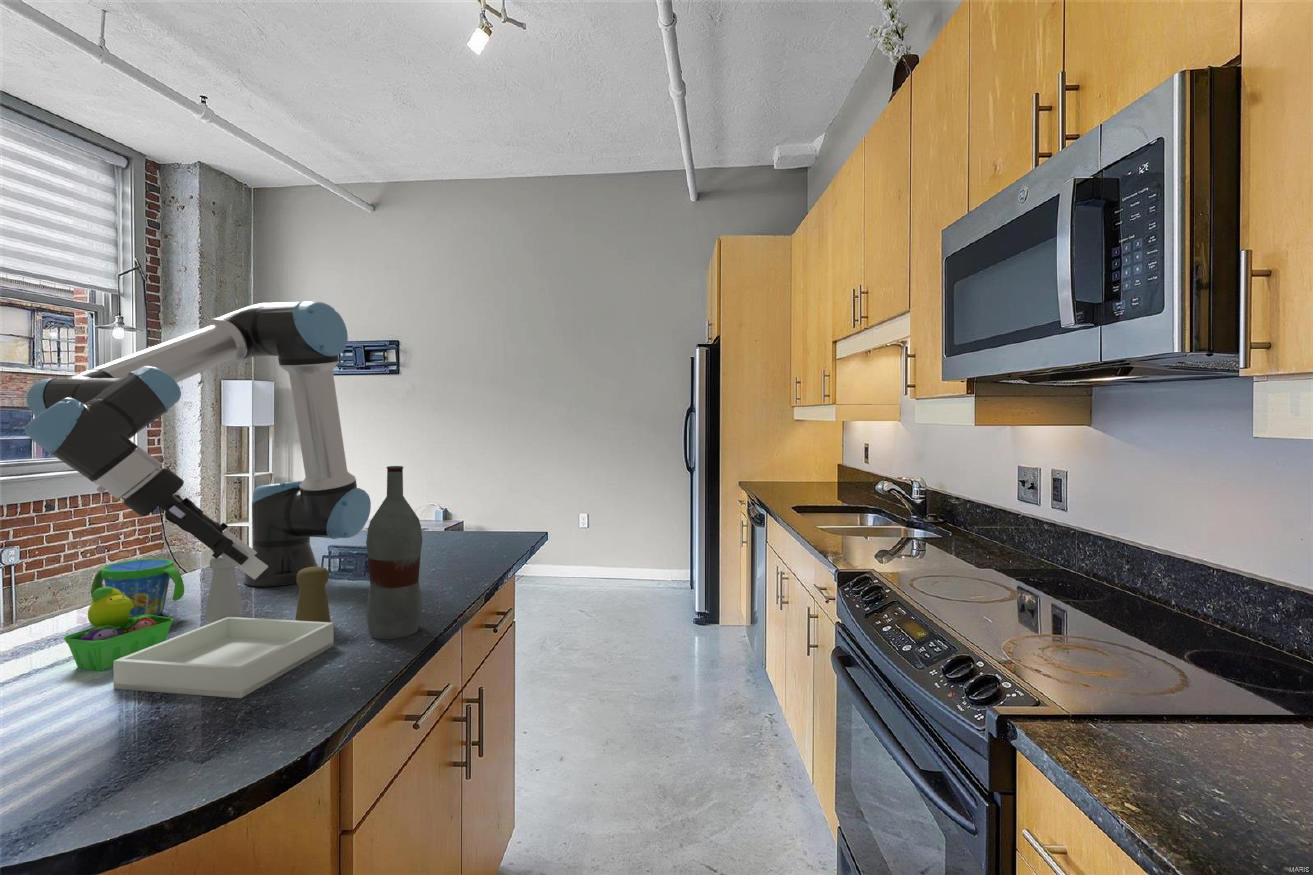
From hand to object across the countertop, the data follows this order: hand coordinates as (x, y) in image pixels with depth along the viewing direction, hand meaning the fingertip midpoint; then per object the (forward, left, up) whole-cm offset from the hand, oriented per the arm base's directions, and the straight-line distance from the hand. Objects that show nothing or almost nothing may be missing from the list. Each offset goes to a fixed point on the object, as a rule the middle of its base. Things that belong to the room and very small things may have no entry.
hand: (255, 565), depth 105 cm
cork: (-7, +6, -13) cm, 16 cm away
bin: (+11, +6, -13) cm, 18 cm away
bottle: (-7, +22, -13) cm, 26 cm away
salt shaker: (-6, -11, -13) cm, 18 cm away
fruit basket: (+11, -14, -13) cm, 22 cm away
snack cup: (-7, -30, -13) cm, 34 cm away
